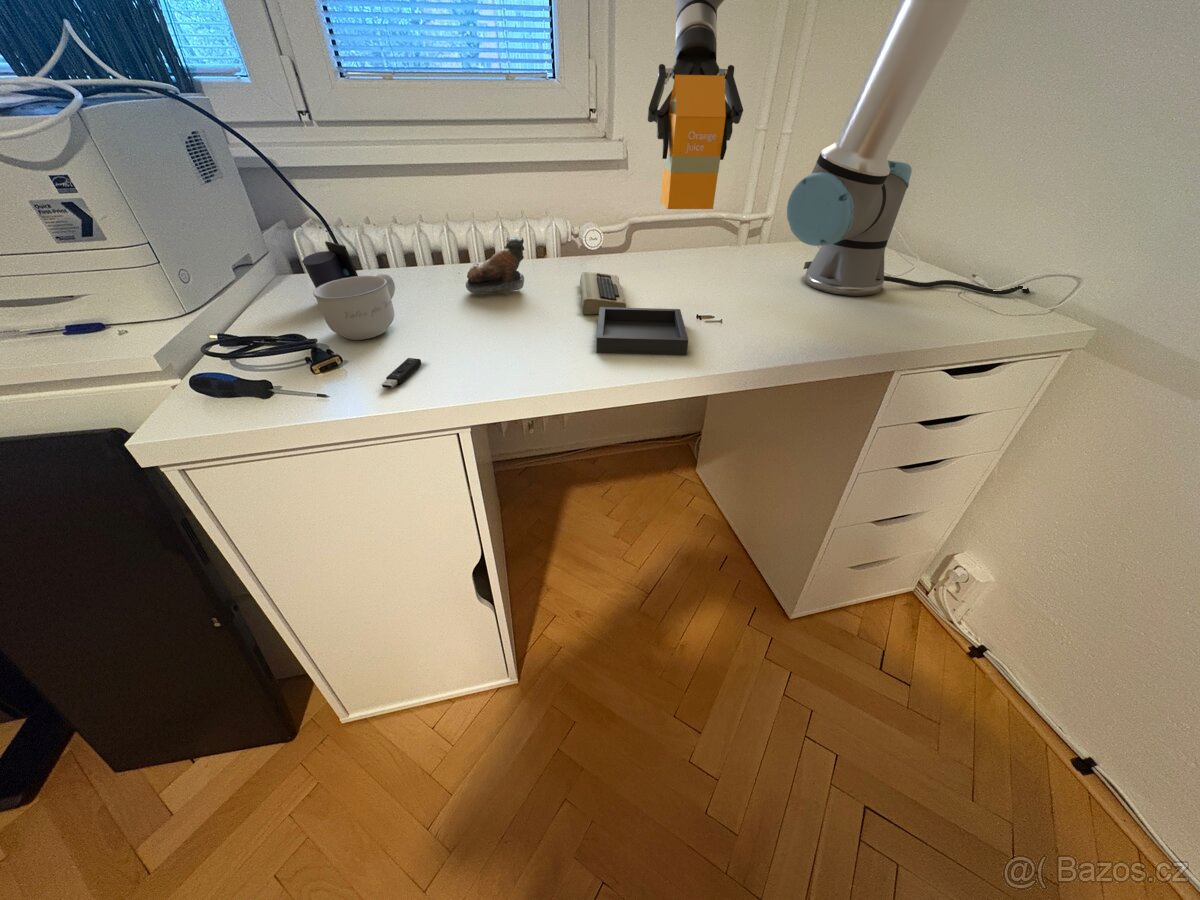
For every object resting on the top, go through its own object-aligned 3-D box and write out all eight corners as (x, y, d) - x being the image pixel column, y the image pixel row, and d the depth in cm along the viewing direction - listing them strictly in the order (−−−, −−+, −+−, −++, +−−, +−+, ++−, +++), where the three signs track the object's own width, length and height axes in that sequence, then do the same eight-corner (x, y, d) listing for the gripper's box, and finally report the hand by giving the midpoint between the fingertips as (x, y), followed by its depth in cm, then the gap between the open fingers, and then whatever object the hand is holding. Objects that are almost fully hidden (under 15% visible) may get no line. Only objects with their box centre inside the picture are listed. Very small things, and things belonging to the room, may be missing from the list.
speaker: (359, 291, 95) (338, 236, 88) (369, 300, 92) (347, 245, 84) (319, 302, 92) (294, 247, 85) (327, 313, 88) (302, 256, 81)
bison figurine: (467, 300, 93) (458, 244, 86) (466, 288, 98) (458, 235, 92) (529, 295, 95) (525, 242, 89) (525, 284, 100) (521, 232, 94)
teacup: (356, 352, 74) (340, 301, 69) (314, 336, 78) (296, 287, 73) (427, 323, 83) (417, 276, 78) (385, 310, 88) (374, 265, 83)
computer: (626, 314, 87) (627, 296, 85) (582, 315, 87) (581, 297, 85) (618, 286, 100) (619, 270, 98) (579, 286, 100) (579, 270, 98)
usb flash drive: (394, 390, 64) (392, 383, 64) (381, 388, 65) (379, 382, 64) (421, 364, 71) (420, 358, 70) (409, 362, 71) (407, 356, 70)
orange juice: (660, 201, 96) (670, 75, 84) (703, 201, 97) (719, 76, 85) (667, 209, 90) (679, 74, 78) (713, 209, 91) (732, 75, 79)
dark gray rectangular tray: (678, 322, 85) (680, 308, 83) (686, 355, 74) (688, 340, 73) (599, 320, 85) (599, 306, 84) (596, 352, 75) (596, 337, 73)
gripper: (750, 64, 92) (750, 170, 89) (634, 63, 93) (631, 167, 90) (762, 24, 85) (763, 138, 82) (636, 23, 85) (632, 136, 82)
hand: (694, 153), depth 86 cm, fingers closed on orange juice, 9 cm apart
